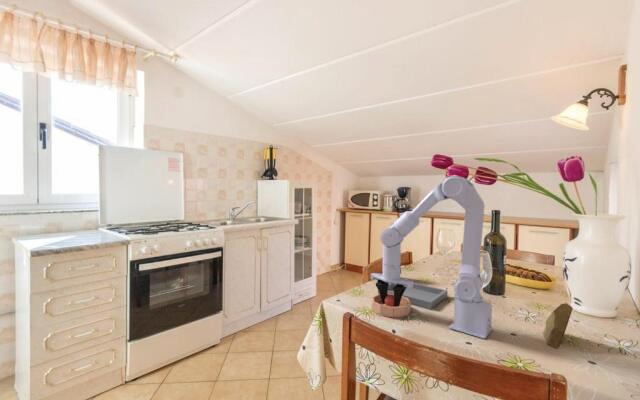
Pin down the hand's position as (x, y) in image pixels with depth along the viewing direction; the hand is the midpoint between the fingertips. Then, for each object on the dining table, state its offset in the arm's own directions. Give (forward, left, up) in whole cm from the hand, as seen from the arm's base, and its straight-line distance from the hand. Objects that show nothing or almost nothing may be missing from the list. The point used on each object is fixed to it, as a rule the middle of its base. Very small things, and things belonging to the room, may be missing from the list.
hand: (390, 304), depth 101 cm
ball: (0, 0, +1) cm, 1 cm away
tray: (0, -17, -2) cm, 17 cm away
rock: (-42, -12, -2) cm, 44 cm away
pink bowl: (0, 0, -2) cm, 2 cm away
